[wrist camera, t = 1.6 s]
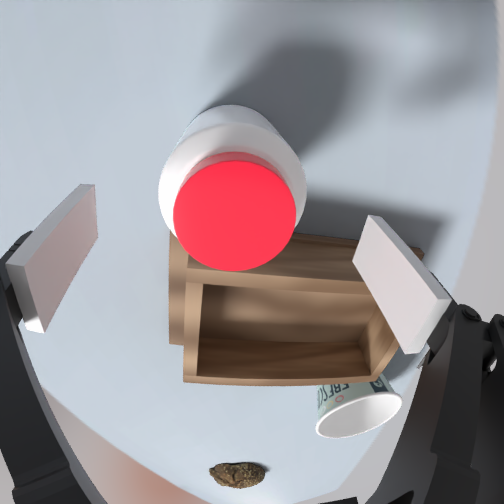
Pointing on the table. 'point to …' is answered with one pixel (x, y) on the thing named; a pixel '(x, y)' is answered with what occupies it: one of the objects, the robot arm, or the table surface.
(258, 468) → the bread roll
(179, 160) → the pill bottle
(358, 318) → the tray
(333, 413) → the food container
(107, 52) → the table surface
